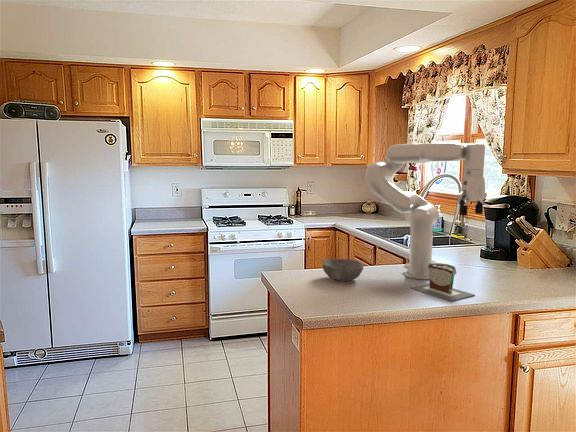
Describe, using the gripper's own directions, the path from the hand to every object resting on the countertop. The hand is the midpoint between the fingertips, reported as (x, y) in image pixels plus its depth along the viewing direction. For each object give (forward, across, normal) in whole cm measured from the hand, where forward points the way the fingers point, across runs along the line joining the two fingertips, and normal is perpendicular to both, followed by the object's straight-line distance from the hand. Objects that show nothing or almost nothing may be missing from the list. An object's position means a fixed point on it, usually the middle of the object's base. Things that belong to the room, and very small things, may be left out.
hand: (471, 214), depth 193 cm
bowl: (+30, -44, +29) cm, 61 cm away
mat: (+30, -19, -4) cm, 36 cm away
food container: (+29, -18, -3) cm, 34 cm away
